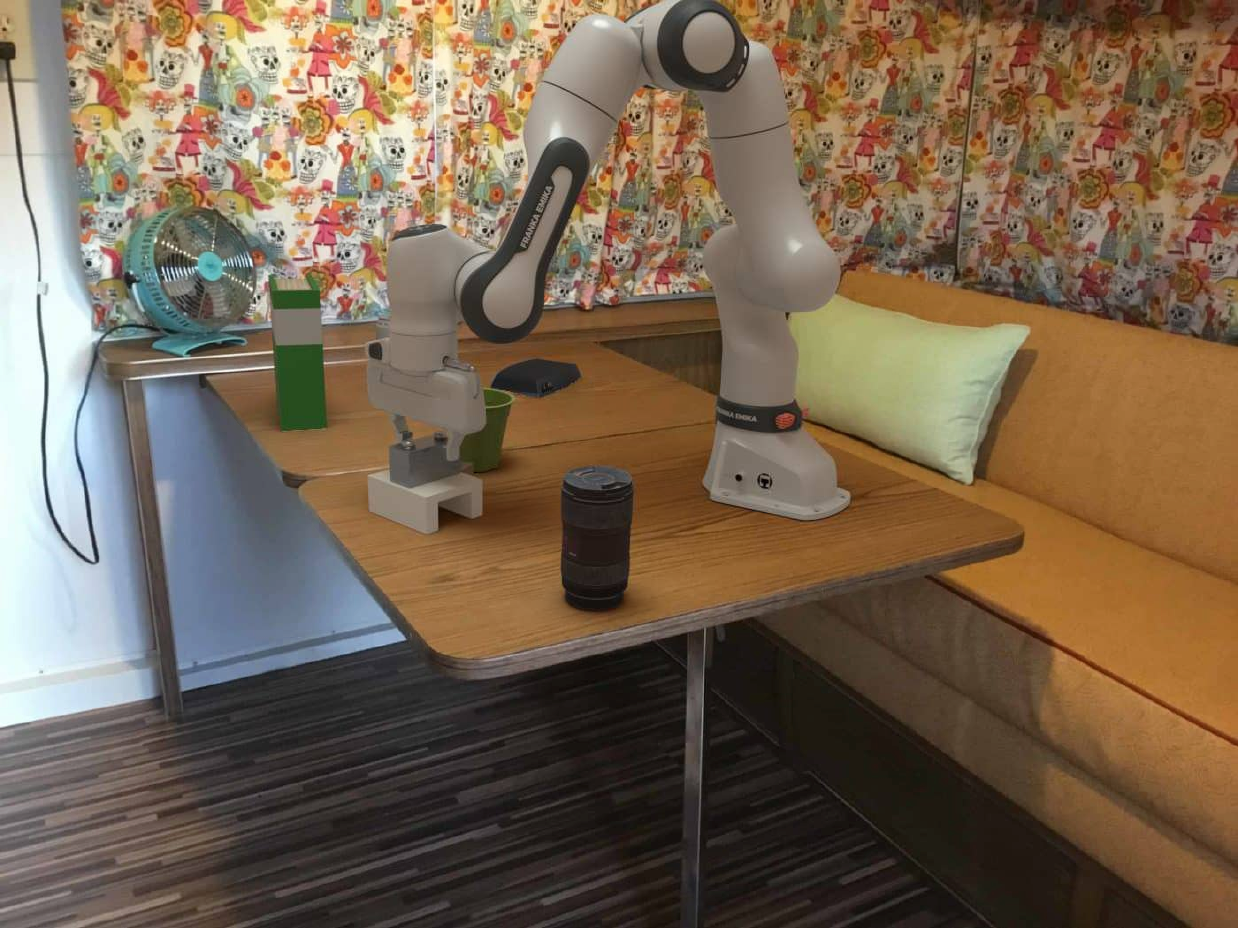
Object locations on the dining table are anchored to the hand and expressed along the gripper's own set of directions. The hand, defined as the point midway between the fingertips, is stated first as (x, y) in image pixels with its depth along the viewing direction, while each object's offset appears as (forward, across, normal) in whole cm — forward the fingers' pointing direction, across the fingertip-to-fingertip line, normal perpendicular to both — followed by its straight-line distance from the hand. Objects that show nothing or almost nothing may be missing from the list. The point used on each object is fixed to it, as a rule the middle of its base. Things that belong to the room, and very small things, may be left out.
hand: (427, 451), depth 139 cm
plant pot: (+9, +10, -18) cm, 23 cm away
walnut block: (+9, +4, -8) cm, 13 cm away
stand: (+9, 0, 0) cm, 9 cm away
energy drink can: (+9, +54, -38) cm, 67 cm away
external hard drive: (+10, +40, -63) cm, 76 cm away
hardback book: (+9, +52, -14) cm, 54 cm away
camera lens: (+9, -34, +4) cm, 35 cm away
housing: (+4, 0, 0) cm, 4 cm away
